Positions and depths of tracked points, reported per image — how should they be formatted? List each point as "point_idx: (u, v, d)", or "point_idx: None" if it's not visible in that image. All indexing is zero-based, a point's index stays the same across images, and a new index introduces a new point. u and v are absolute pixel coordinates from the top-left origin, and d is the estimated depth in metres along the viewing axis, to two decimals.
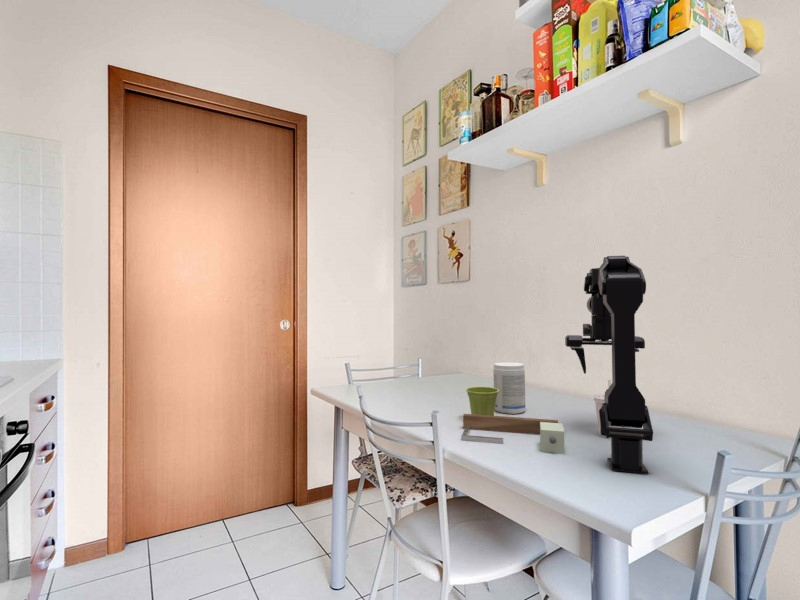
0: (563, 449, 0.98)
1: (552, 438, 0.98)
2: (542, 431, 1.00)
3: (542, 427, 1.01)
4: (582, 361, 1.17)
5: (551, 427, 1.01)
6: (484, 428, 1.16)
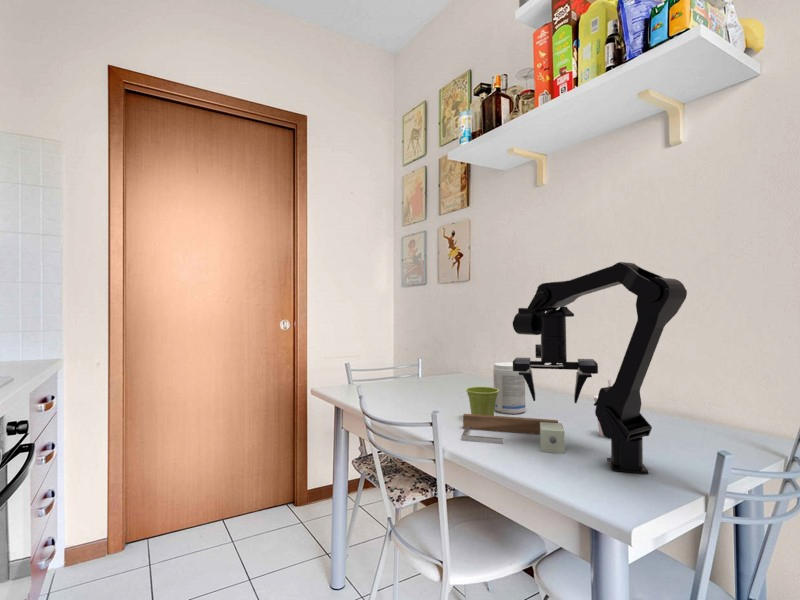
0: (563, 449, 0.98)
1: (552, 438, 0.98)
2: (542, 431, 1.00)
3: (542, 427, 1.02)
4: (530, 387, 1.05)
5: (551, 427, 1.02)
6: (484, 428, 1.16)
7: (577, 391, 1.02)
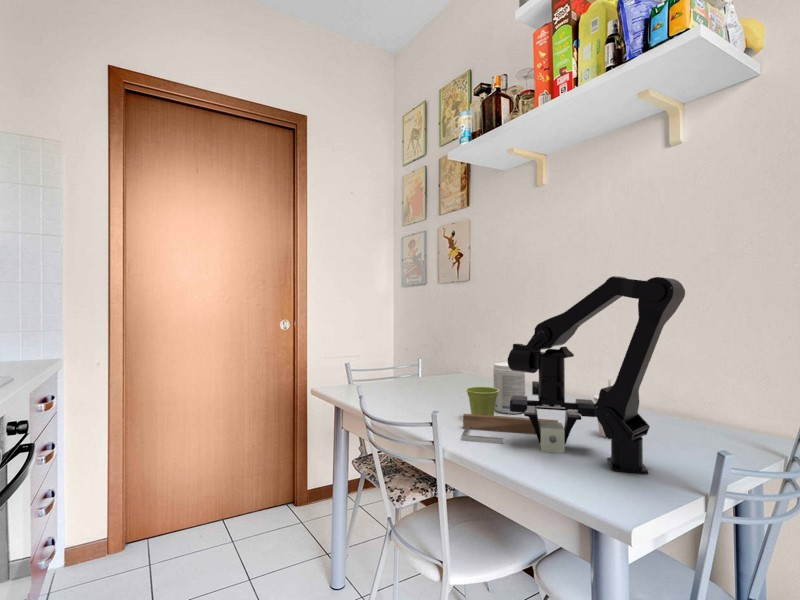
0: (563, 448, 0.98)
1: (552, 437, 0.98)
2: (542, 430, 1.00)
3: (542, 426, 1.02)
4: (536, 429, 1.02)
5: (551, 426, 1.02)
6: (484, 428, 1.16)
7: (566, 433, 1.00)
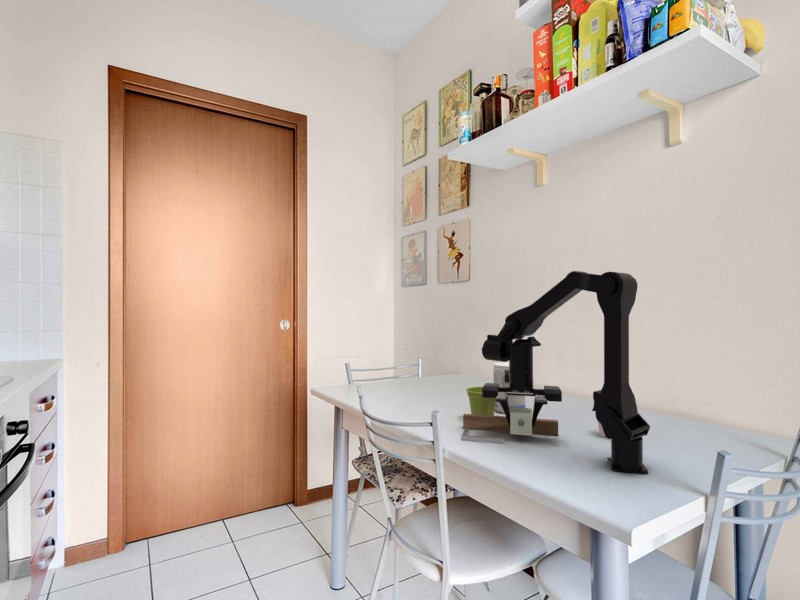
0: (531, 431, 1.06)
1: (520, 421, 1.05)
2: (511, 414, 1.07)
3: (512, 411, 1.09)
4: (506, 413, 1.09)
5: (520, 411, 1.09)
6: (484, 428, 1.16)
7: (534, 417, 1.07)
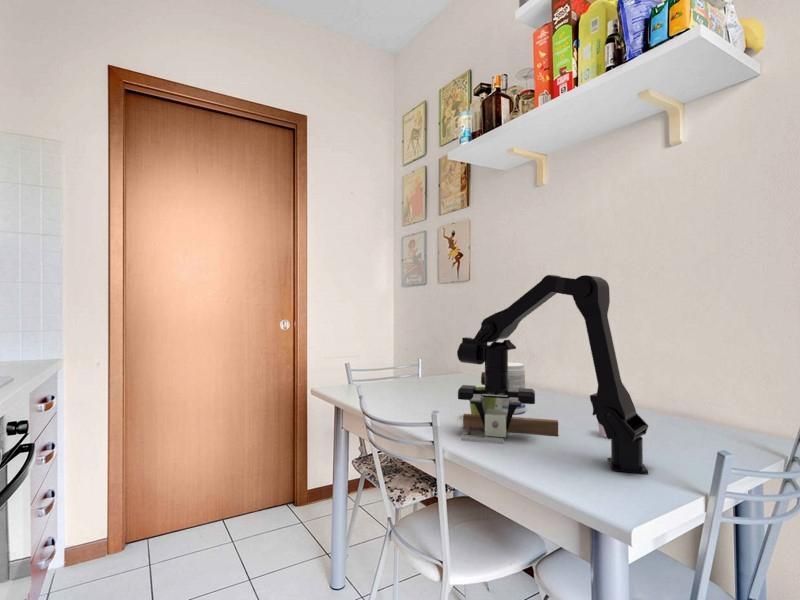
0: (504, 433, 1.07)
1: (494, 423, 1.07)
2: (486, 416, 1.09)
3: (487, 413, 1.11)
4: (481, 415, 1.11)
5: (495, 413, 1.11)
6: (484, 428, 1.16)
7: (508, 419, 1.09)
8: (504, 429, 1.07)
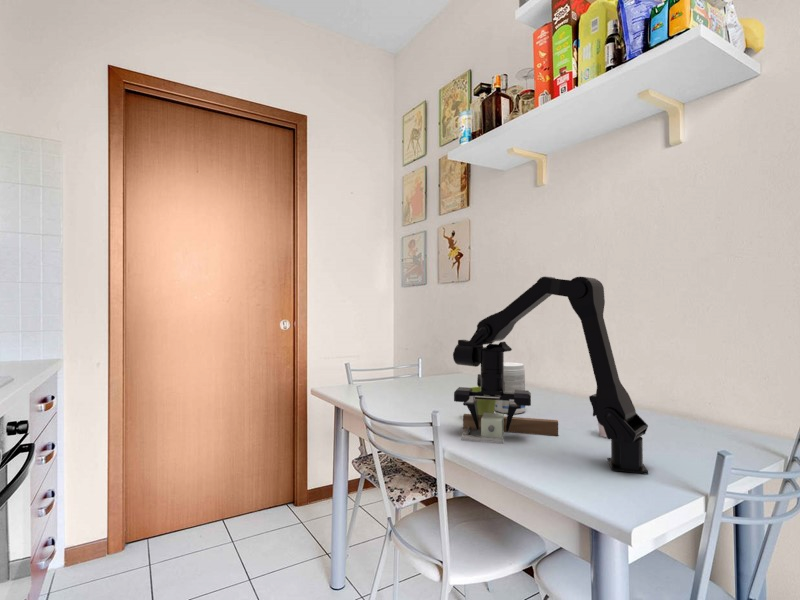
0: (500, 437, 1.08)
1: (490, 426, 1.07)
2: (482, 420, 1.09)
3: (483, 417, 1.11)
4: (474, 417, 1.11)
5: (491, 417, 1.11)
6: None
7: (508, 421, 1.09)
8: (500, 433, 1.08)
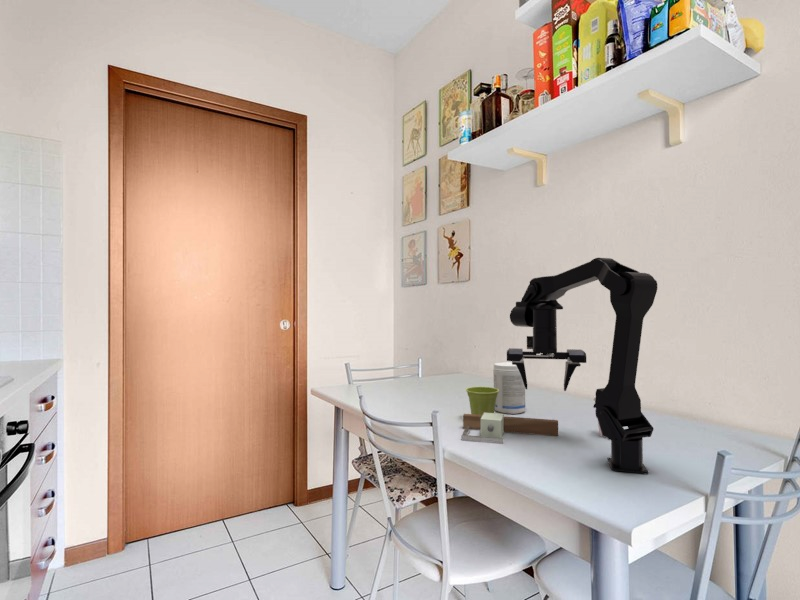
0: (500, 436, 1.08)
1: (490, 426, 1.08)
2: (481, 420, 1.09)
3: (483, 417, 1.11)
4: (523, 376, 1.11)
5: (491, 417, 1.11)
6: None
7: (567, 379, 1.08)
8: (499, 433, 1.08)
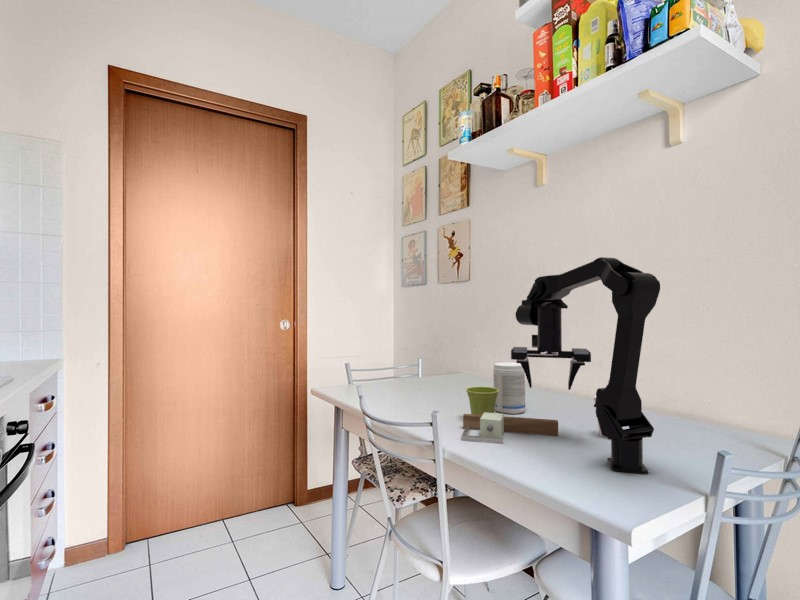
0: (499, 436, 1.08)
1: (489, 426, 1.08)
2: (481, 420, 1.09)
3: (482, 416, 1.11)
4: (527, 375, 1.11)
5: (491, 417, 1.11)
6: None
7: (571, 378, 1.08)
8: (499, 433, 1.08)
